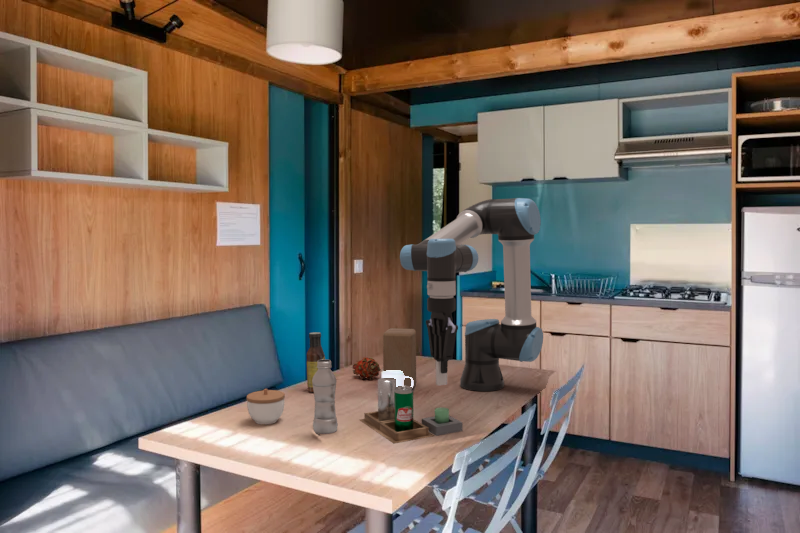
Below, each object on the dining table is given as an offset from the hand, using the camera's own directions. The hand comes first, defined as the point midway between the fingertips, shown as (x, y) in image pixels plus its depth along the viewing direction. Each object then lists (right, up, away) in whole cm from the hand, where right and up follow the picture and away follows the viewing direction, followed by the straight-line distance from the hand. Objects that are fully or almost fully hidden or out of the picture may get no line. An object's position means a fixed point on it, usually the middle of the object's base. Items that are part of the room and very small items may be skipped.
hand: (441, 384), depth 164 cm
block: (-11, -11, +49) cm, 51 cm away
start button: (0, -10, +1) cm, 10 cm away
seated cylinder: (-15, -12, +7) cm, 20 cm away
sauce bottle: (-40, -11, +46) cm, 61 cm away
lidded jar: (-50, -13, +12) cm, 53 cm away
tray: (-12, -13, +2) cm, 18 cm away
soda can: (-10, -13, -2) cm, 16 cm away
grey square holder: (0, -13, +1) cm, 13 cm away
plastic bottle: (-31, -14, +1) cm, 34 cm away
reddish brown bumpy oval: (-24, -10, +63) cm, 68 cm away
